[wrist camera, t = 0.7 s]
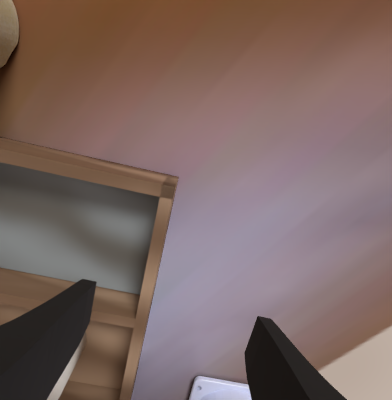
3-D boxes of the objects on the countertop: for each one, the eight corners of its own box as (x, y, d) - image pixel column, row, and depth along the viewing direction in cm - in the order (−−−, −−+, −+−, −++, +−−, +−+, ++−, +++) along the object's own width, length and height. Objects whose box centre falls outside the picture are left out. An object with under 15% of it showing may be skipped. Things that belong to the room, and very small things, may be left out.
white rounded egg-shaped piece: (83, 361, 23) (58, 414, 19) (31, 352, 23) (-6, 403, 19) (89, 318, 22) (65, 364, 18) (35, 308, 22) (-3, 352, 18)
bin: (132, 389, 25) (123, 430, 22) (-19, 363, 24) (-53, 402, 21) (178, 177, 20) (175, 187, 17) (-12, 134, 19) (-56, 136, 16)
